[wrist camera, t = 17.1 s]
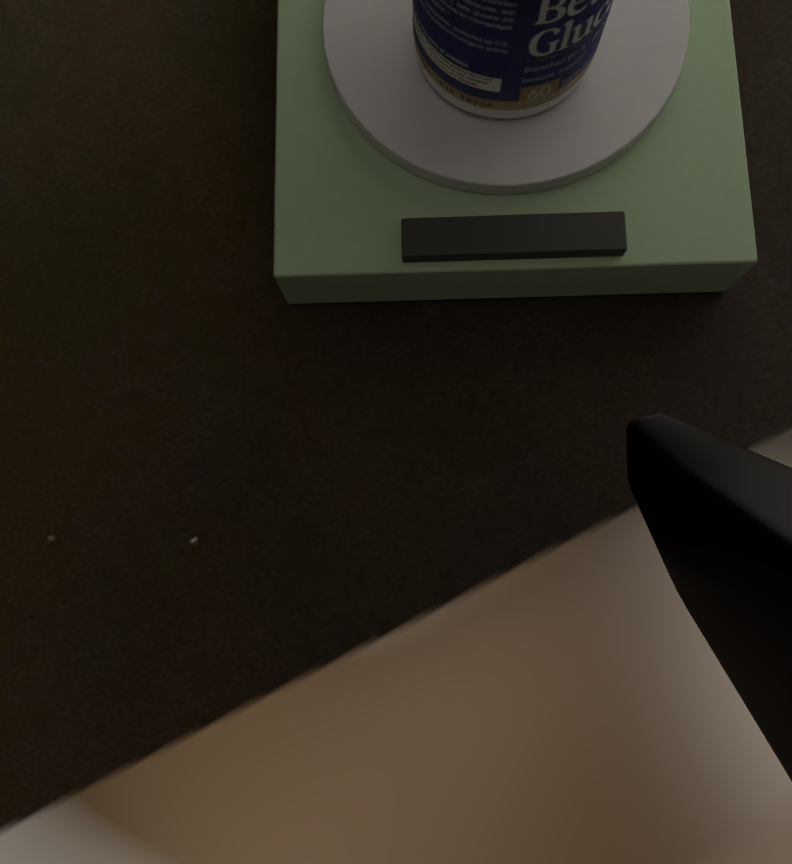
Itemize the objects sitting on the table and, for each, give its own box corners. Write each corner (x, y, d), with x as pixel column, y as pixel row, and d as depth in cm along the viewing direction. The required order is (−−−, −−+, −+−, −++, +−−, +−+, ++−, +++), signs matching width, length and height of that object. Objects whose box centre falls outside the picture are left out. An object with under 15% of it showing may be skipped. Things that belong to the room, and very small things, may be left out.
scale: (725, 292, 24) (768, 253, 21) (287, 304, 24) (268, 268, 21) (688, -87, 26) (721, -170, 23) (292, -68, 27) (275, -147, 24)
